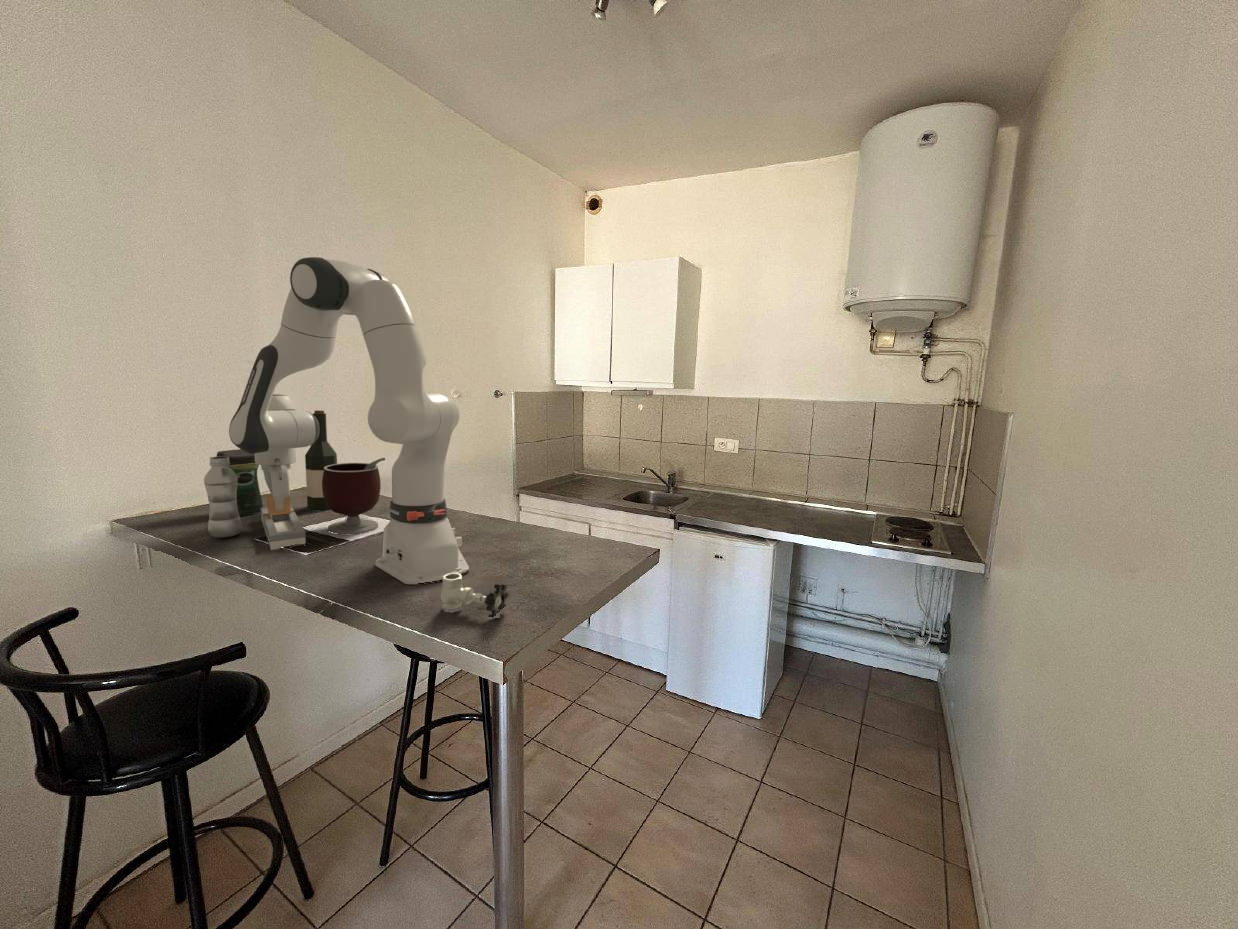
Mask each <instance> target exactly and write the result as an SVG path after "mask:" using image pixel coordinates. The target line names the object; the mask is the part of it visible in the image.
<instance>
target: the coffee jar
mask: <svg viewBox="0 0 1238 929" xmlns="http://www.w3.org/2000/svg"><path fill="white" fill-rule="evenodd" d="M220 456H225V457H229V462H230V465H229V468H231V469H232V470H233V471H234V473H235V474H236V475H237V478H238V482H237V498H236V500H237V508H238V513H239V517H241V516H248V515H253V514H258V513H261V508H264V506H263V499H262V495H261V494H262V493H261V491H260V486H259V485H260V484H259V480H258V469H259V467H260V465H258V464H255V455H254V454H250V453H247V452H245V451H243V450H241V449H240V448H238V449H227V450H221V451H217V453H216V457H220Z"/></svg>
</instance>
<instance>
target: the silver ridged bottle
mask: <svg viewBox="0 0 1238 929" xmlns="http://www.w3.org/2000/svg"><path fill="white" fill-rule="evenodd" d="M229 465H230V462H229V457H225V456H220V457H217V456H212V457H210V458H209V466H210V467H211V468H209V470H208V471H207V472H206V474H205V475H204V478H203V483H204V487H205V490H206V494H207V499H208V505H209V506H208V507H209V508H208V509H209V510H208V511H209V514H208V515H209V516H208V523H207V531H208V533H209V535H210V536H211V537H213V538H220V539H221V538H230V537H234V536H237V535H238V534H240V532H241V531H242V527H243V524H242V520H241V516H239V513H238V508H237V500H236V498H237V482H238V478H237V475H236V474H235V473H234V471H233V470H232V469H231V468H229Z"/></svg>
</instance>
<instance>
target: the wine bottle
mask: <svg viewBox="0 0 1238 929" xmlns="http://www.w3.org/2000/svg"><path fill="white" fill-rule="evenodd" d="M312 414H313V415H314V416H315V417H316V419H317V420H318V422H319V427H320V433H319V436H318V439H317V440H316V442H315V443H314V444H313V445H311V446H309V449H308V450H307V451H306V453H305V455H304V458H305V459H304V462H305V481H306V502H307V503H306V504H307V510H310V511H312V510H313V512H327V511H332V510H331V509H330V508H329V507H328V506H327V505H326V503H325V500H324V496H323V491H322V478H323V472H324V467H325V466H328V465H332V464H338V454H337V452H336V451H335V449H334V448H333V447H332V445H331V444H330V443H329V441H328V431H327V428H328V427H327V413H326V412H325V410H317V409H316V410H314V412H313V413H312ZM326 510H327V511H326Z"/></svg>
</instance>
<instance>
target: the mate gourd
mask: <svg viewBox="0 0 1238 929" xmlns="http://www.w3.org/2000/svg"><path fill="white" fill-rule="evenodd" d="M382 461H386V458H385V457H381V458H378V459H376V460H373V461H372V462H370V463H368V462H342V463H337V464H332V465H328V466H325V467H324V472H323V478H322V491H323V496H324V500H325V503H326V505H327V506H328V507H329V508H330V509H331V510H330V511H332V512H334V513H337V514H339V515H342V516H343V515H344V516H346V519H345V520H341V521H336V522H334V523H331V524H329V525H328V526H327V532H328V531H330V532H333V533H338V534H355V535H361V534H360V533H362V534H366V533H365V532H367V533H370V532H369V531H371V532H373V531H375V530H377V529H378V528H379V523H378V522H377V521H375V520H371V519H363V518H360V516H359V515H363V514H364V513H367V512H369V511H371V510H373V509H374V507H375V506H376V505H377V503H378V502H379V499H380V496H381V494H380V493H381V487H382V486H381V475H380V470H379V466H378V465H377V464H379V463H380V462H382Z"/></svg>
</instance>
